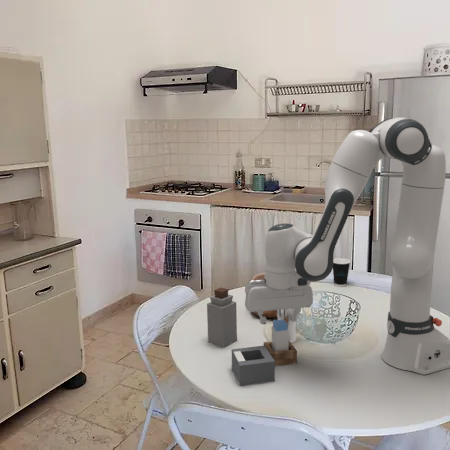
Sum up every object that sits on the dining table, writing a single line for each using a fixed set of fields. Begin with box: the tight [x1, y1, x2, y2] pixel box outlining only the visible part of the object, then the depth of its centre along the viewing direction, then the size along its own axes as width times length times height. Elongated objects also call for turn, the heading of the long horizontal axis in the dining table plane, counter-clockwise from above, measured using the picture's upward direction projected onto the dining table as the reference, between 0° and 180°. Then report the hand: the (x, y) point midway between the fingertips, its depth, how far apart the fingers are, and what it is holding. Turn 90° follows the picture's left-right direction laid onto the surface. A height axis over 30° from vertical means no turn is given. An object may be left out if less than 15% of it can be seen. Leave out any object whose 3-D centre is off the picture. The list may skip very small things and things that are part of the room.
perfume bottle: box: [206, 287, 238, 349], centre depth 161 cm, size 7×7×18 cm
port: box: [231, 344, 276, 386], centre depth 141 cm, size 10×10×6 cm
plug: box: [271, 319, 289, 352], centre depth 149 cm, size 4×4×12 cm
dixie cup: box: [332, 257, 352, 288], centre depth 213 cm, size 8×8×11 cm
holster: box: [263, 340, 298, 367], centre depth 150 cm, size 8×8×4 cm
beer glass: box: [276, 308, 298, 344], centre depth 162 cm, size 7×7×15 cm
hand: (278, 322), depth 148 cm, fingers open, 8 cm apart
